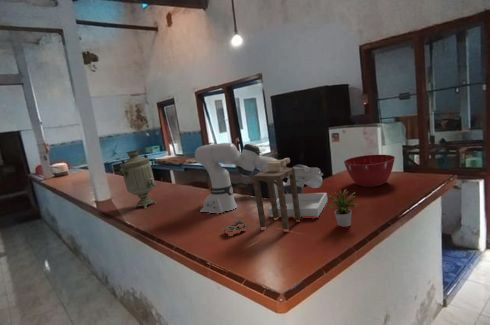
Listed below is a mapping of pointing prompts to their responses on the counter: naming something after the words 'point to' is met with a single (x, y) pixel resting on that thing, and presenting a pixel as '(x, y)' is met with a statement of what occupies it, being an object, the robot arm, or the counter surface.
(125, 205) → the counter surface
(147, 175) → the samovar
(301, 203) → the grey tray
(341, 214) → the house plant
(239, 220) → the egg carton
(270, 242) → the counter surface
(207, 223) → the counter surface
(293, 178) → the walnut stand
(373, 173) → the mixing bowl
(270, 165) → the mallet
